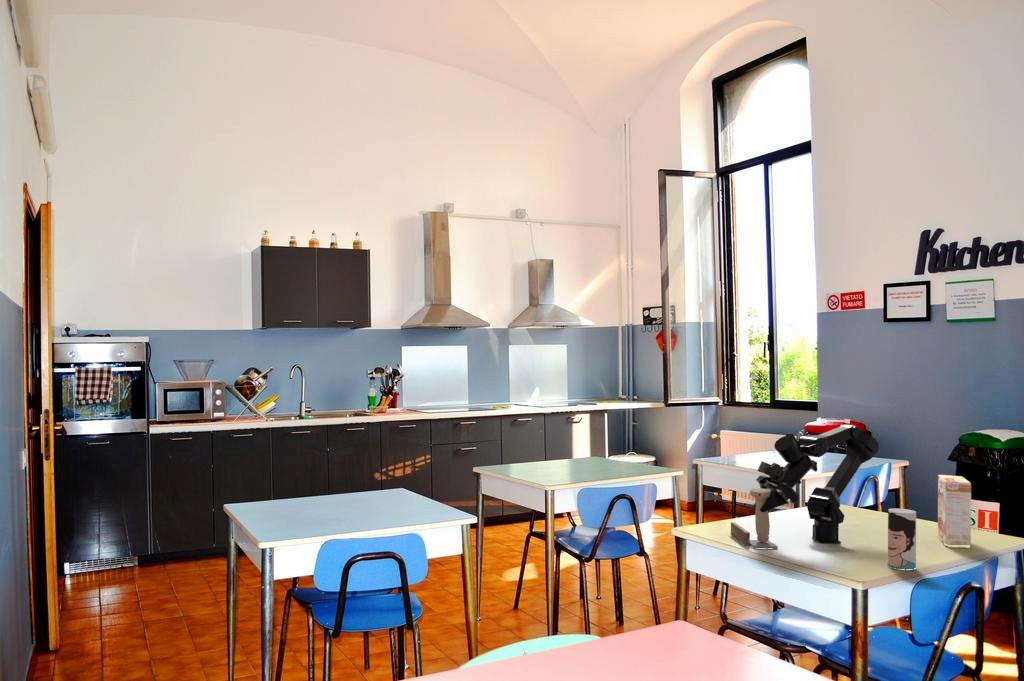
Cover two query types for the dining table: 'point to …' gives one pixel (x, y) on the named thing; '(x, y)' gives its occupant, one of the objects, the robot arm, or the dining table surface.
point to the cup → (901, 538)
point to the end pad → (762, 544)
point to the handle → (761, 514)
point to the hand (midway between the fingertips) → (757, 509)
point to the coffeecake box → (954, 510)
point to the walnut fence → (740, 534)
